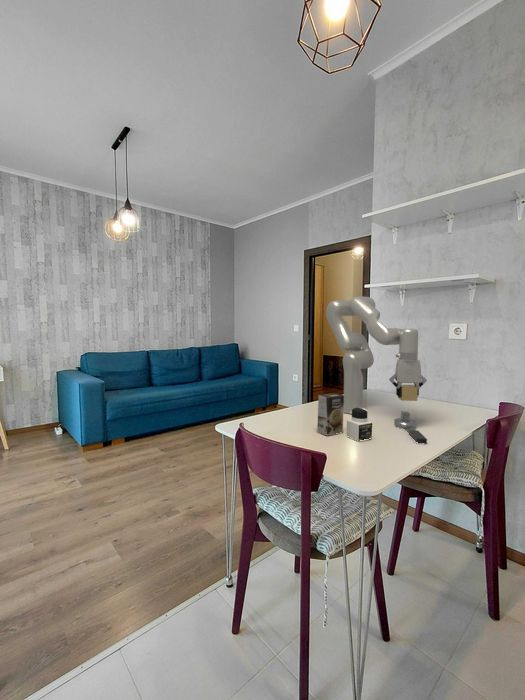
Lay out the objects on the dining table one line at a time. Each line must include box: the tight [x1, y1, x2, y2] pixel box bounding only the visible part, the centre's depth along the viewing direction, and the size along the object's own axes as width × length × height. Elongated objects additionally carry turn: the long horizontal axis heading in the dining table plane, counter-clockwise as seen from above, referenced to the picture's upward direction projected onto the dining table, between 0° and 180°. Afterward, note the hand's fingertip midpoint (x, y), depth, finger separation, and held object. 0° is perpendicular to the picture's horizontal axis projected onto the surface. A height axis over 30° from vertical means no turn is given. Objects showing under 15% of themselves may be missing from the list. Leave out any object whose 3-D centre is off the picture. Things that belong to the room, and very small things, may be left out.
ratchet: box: [393, 410, 428, 443], centre depth 141 cm, size 9×26×6 cm, turn 173°
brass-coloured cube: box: [397, 384, 418, 402], centre depth 148 cm, size 6×6×6 cm
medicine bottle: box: [345, 407, 373, 441], centre depth 133 cm, size 7×7×12 cm
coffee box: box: [317, 392, 344, 437], centre depth 139 cm, size 9×6×16 cm
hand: (407, 396), depth 148 cm, fingers closed on brass-coloured cube, 6 cm apart
